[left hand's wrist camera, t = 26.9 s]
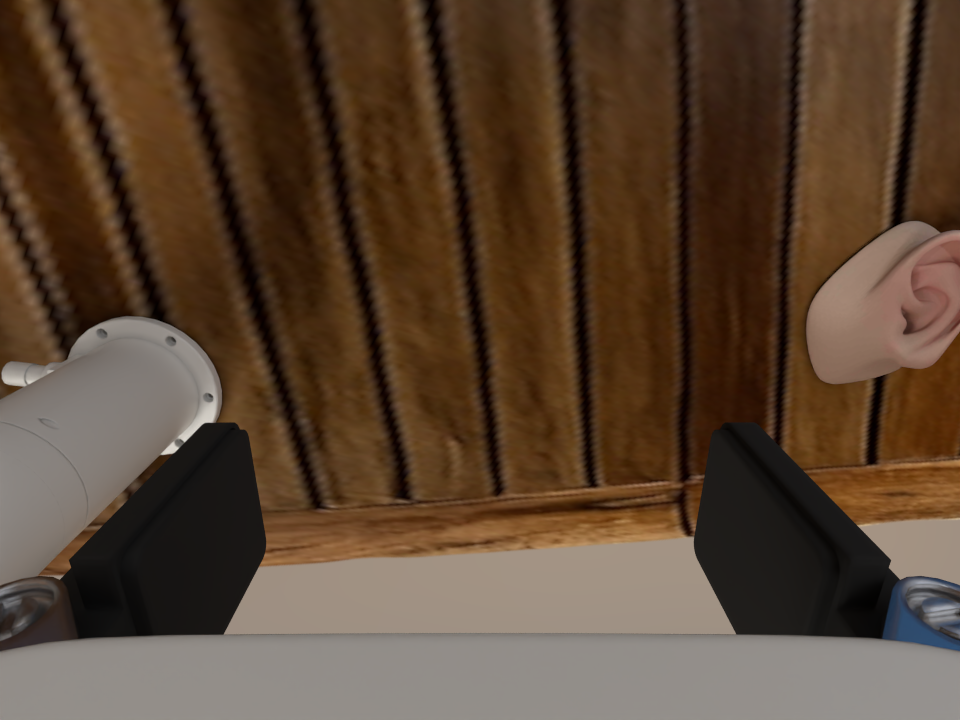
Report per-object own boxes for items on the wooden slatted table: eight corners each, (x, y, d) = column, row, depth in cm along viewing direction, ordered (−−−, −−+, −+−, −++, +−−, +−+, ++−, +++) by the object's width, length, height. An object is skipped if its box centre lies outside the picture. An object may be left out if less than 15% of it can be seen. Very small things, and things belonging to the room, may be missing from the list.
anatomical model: (862, 426, 45) (799, 317, 42) (833, 404, 49) (773, 303, 46) (1029, 331, 42) (975, 206, 39) (984, 316, 46) (932, 200, 43)
